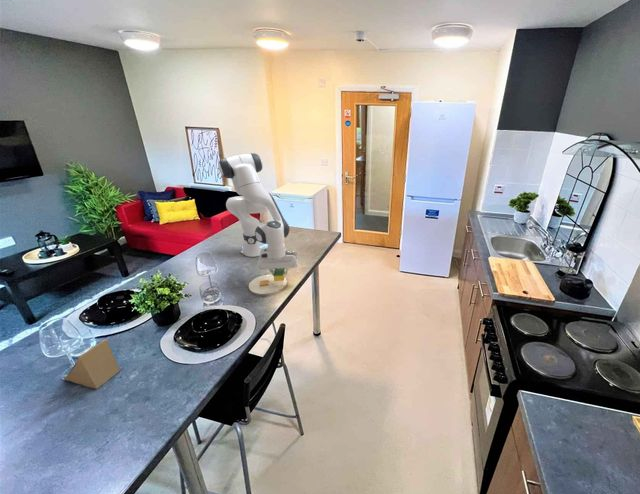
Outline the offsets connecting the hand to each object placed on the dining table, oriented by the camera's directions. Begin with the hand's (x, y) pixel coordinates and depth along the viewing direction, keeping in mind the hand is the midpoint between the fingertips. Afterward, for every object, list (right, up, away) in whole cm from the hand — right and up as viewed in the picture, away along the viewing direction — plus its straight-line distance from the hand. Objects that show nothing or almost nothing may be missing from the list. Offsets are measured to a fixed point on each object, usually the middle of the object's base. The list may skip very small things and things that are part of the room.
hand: (279, 274), depth 157 cm
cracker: (-9, -5, +1) cm, 10 cm away
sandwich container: (-51, -30, -53) cm, 80 cm away
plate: (-7, -6, +2) cm, 10 cm away
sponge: (0, -1, +1) cm, 2 cm away
